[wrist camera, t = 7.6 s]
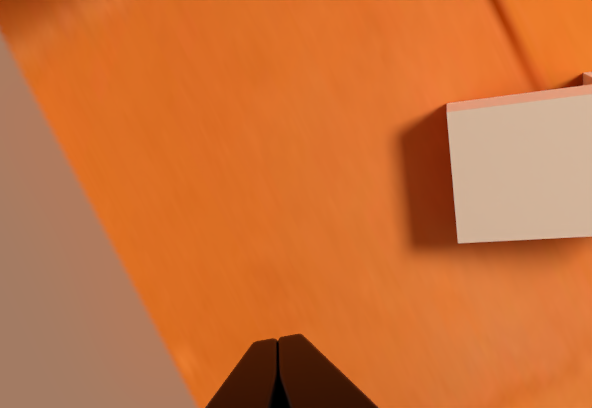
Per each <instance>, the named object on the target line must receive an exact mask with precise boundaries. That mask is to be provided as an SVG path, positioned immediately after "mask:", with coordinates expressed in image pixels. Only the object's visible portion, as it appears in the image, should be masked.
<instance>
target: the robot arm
mask: <svg viewBox="0 0 592 408" xmlns="http://www.w3.org/2000/svg"><path fill="white" fill-rule="evenodd" d="M205 408H378V407H377V406H376V405H375V404H374V403H373V402H372V401H371V400H370V399H369V398H368V397H367V396H366V395H365V394H364V393H363V392H362V391H361V390H360V389H359V388H358V387H357V386H355V385H354V384H353V383H352V382H351V381H350V380H349V379H348V378H347V377H346V376H345V375H344V374H343V373H342V372H341V371H340V370H339V369H338V368H337V367H336V366H335V365H334V364H332V363H331V362H330V361H329V360H328V359H327V358H326V357H325V356H324V355H323V354H322V353H321V352H320V351H319V350H318V349H317V348H316V347H315V346H314V345H313V344H312V343H311V342H309V341H308V340H307V339H306V338H305V337H304V336H303V335H302V334H295V335H289V336H284V337H280V338H279V340H278V341H277V340H276V339H267V340H261V341H256V342H254V343H253V344H252V345H251V346H250V348H249V349H248V350H247V352H246V353H245V354H244V356H243V357H242V359H241V360H240V361H239V363H238V364H237V365H236V367H235V368H234V369H233V371H232V372H231V373H230V375H229V376H228V378H227V379H226V380H225V382H224V383H223V384H222V386H221V387H220V388H219V390H218V391H217V393H216V394H215V395H214V397H213V398H212V399H211V401H210V402H209V403H208V405H207V406H206V407H205Z"/></svg>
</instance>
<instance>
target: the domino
mask: <svg viewBox="0 0 592 408" xmlns="http://www.w3.org/2000/svg"><path fill="white" fill-rule="evenodd" d="M447 123H448V135H449V146H450V158H451V169H452V181H453V192H454V204H455V216H456V227H457V239H458V243H475V242H494V241H513V240H533V239H552V238H571V237H591V236H592V84H591V85H583V86H575V87H568V88H560V89H553V90H545V91H537V92H530V93H522V94H514V95H507V96H499V97H491V98H484V99H476V100H468V101H461V102H453V103H447Z"/></svg>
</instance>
